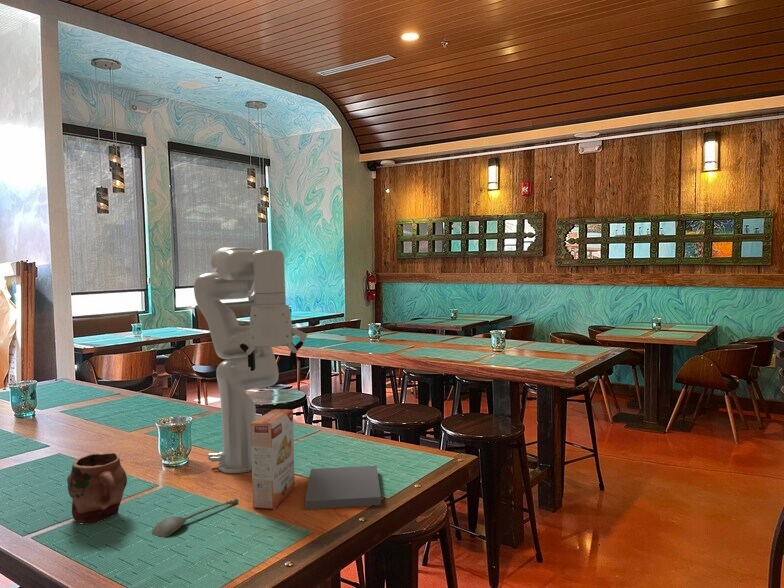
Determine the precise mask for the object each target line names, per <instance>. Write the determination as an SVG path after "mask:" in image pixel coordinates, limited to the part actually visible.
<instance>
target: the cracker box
mask: <svg viewBox="0 0 784 588" xmlns="http://www.w3.org/2000/svg"><path fill="white" fill-rule="evenodd" d="M294 439H295V438H294V410H293V409H288V408H287V409H284V408H283V409H280V408H279V409H277V408H275V409H271V410H270V411H269V412H266V413H265V414H263V415H262V416H260V417H258V418H256V420H255V421H253V422H252V423H251V456H252V471H251V485H252V487H251V488H252V489H251V490H252V493H251V494H252V508H254V509H267V510H268V509H269V510H275V509H276V508H277V506H279V505H280V503H281V502H282V501H284V499H285V498H286V497H288V495H290V493H291V492H292V491H293V490H294V489H295V488H296V487H295V485H296V484H295V483H296V482H295V446H294V445H295V444H294V443H295V441H294Z"/></svg>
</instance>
